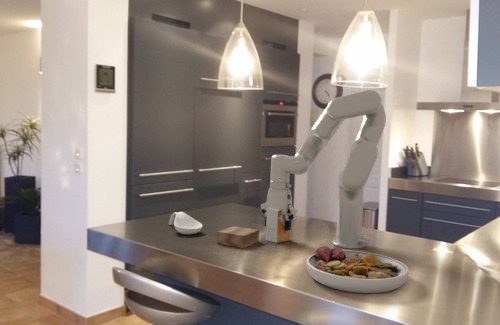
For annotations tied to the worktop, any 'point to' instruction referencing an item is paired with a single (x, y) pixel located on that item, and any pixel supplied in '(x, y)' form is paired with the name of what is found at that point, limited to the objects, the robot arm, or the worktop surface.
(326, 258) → the bowl
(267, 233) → the small box
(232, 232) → the tan block
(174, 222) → the spoon rest
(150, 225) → the worktop surface
